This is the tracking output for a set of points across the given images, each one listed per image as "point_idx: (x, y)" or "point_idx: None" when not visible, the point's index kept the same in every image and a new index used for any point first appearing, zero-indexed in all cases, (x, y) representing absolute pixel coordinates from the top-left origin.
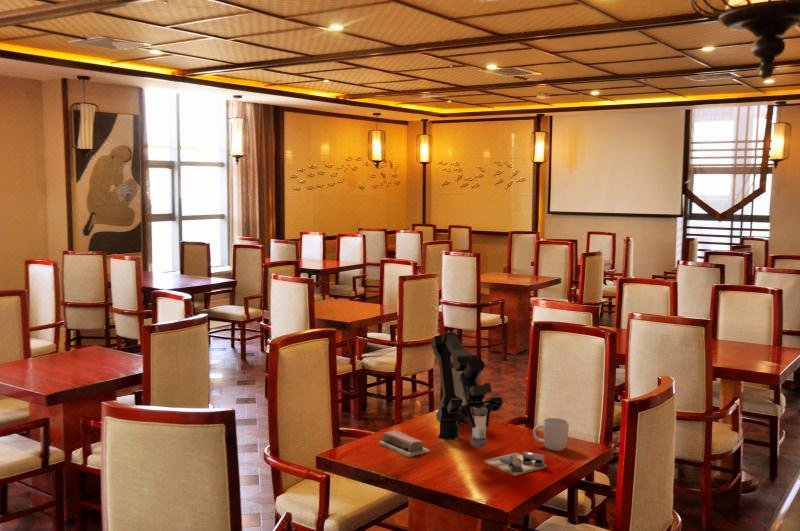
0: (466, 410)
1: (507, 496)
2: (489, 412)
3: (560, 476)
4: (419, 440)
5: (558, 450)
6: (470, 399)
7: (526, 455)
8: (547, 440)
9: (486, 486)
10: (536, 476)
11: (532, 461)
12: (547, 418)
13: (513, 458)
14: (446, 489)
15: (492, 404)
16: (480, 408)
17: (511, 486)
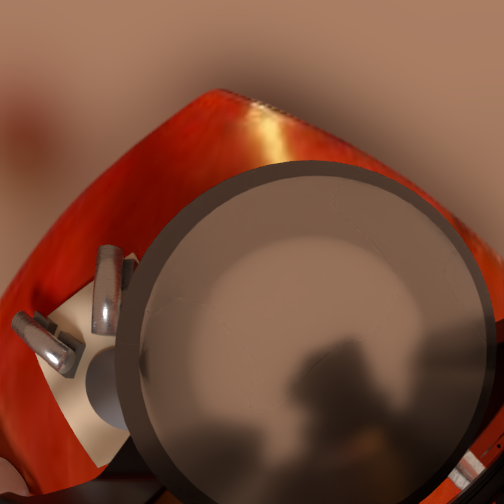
0: (499, 323)
1: (196, 129)
2: (126, 450)
3: (27, 262)
4: (466, 457)
5: (3, 458)
6: None
7: (57, 342)
8: (7, 480)
9: (240, 171)
10: (76, 257)
11: (55, 372)
12: None
13: (109, 285)
14: (344, 155)
15: (10, 502)
16: (335, 241)
17: (168, 178)
